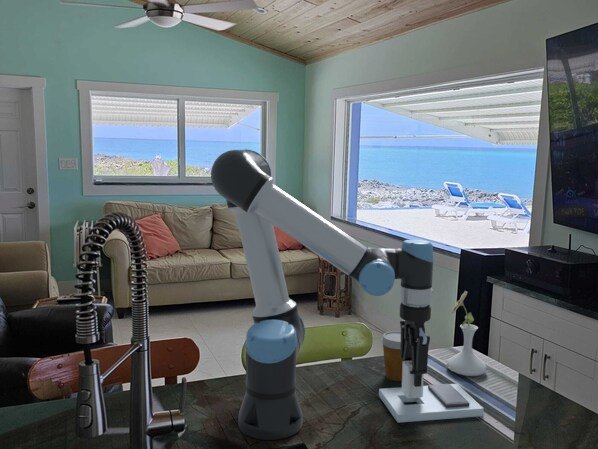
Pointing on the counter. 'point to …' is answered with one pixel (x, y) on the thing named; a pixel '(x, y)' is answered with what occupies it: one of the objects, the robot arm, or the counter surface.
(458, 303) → the flower in vase
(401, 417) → the outlet board
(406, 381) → the block
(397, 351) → the disposable coffee cup
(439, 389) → the phone
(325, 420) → the counter surface
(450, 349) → the counter surface
